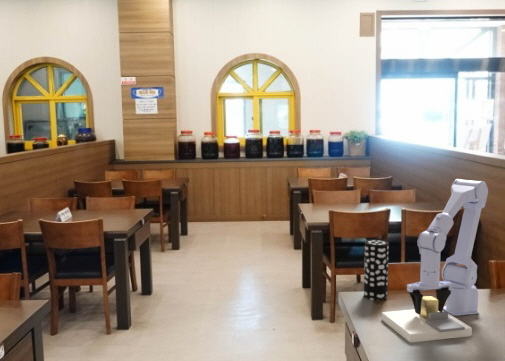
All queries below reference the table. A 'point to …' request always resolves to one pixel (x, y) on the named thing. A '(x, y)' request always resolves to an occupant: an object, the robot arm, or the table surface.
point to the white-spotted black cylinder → (376, 269)
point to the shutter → (443, 322)
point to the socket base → (420, 326)
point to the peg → (428, 306)
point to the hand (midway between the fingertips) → (428, 312)
